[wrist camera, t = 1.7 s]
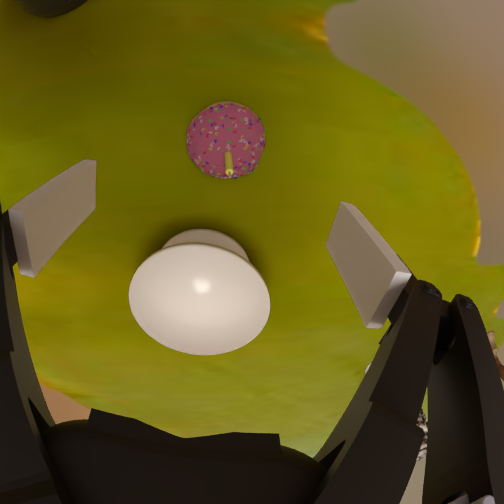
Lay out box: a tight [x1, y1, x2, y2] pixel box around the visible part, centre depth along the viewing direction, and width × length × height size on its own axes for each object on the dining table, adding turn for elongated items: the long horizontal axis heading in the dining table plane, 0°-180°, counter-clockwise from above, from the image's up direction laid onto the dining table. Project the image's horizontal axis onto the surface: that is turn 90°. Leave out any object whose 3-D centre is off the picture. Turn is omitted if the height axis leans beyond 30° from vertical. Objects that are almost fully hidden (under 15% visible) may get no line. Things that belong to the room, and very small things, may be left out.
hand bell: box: [487, 332, 504, 381], centre depth 55 cm, size 8×8×16 cm
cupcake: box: [186, 101, 266, 179], centre depth 29 cm, size 9×8×12 cm
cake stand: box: [129, 228, 270, 355], centre depth 40 cm, size 18×18×8 cm
